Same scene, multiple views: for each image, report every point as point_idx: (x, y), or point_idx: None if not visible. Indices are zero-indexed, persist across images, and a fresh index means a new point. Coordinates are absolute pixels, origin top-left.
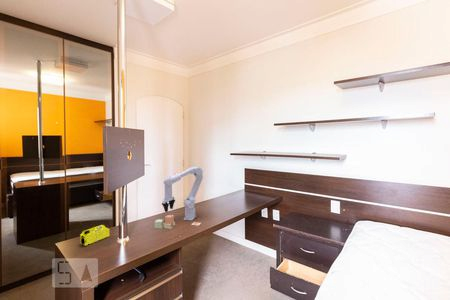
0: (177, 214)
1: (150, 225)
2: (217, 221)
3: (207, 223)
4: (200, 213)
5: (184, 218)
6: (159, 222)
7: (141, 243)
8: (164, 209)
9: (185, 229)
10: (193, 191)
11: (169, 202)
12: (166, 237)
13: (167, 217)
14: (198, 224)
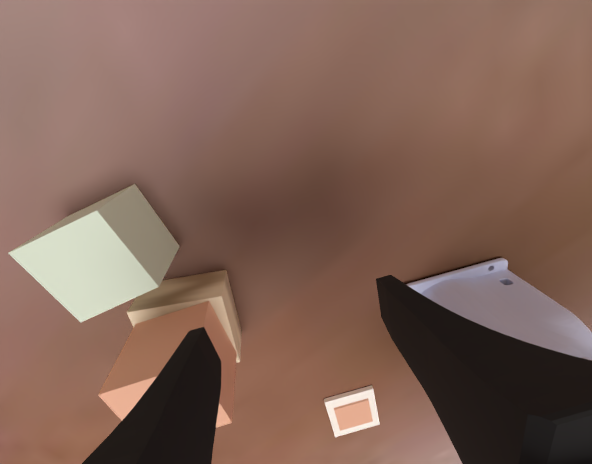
0: (534, 114)
1: (67, 93)
2: (441, 458)
3: (391, 443)
4: (583, 299)
5: (417, 289)
6: (68, 301)
7: None
8: (165, 367)
9: (236, 419)
10: None
11: (466, 381)
12: (45, 424)
13: (123, 418)
14: (346, 430)
